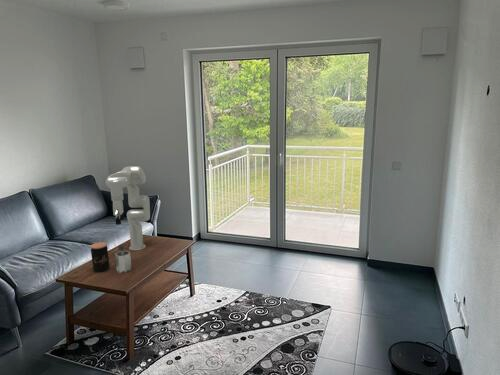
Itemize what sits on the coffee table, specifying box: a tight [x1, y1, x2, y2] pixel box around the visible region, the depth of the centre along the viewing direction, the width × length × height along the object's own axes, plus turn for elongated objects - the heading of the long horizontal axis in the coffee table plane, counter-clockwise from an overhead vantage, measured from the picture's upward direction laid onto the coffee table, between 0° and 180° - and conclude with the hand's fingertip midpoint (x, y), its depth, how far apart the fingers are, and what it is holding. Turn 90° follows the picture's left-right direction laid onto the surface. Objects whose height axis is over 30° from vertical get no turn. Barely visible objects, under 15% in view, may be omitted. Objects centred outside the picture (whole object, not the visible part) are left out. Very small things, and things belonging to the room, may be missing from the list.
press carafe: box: [114, 250, 132, 274], centre depth 260 cm, size 12×9×12 cm
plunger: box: [118, 243, 126, 256], centre depth 258 cm, size 7×7×14 cm
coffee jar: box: [90, 241, 110, 273], centre depth 260 cm, size 11×11×18 cm
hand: (120, 222), depth 254 cm, fingers open, 9 cm apart
